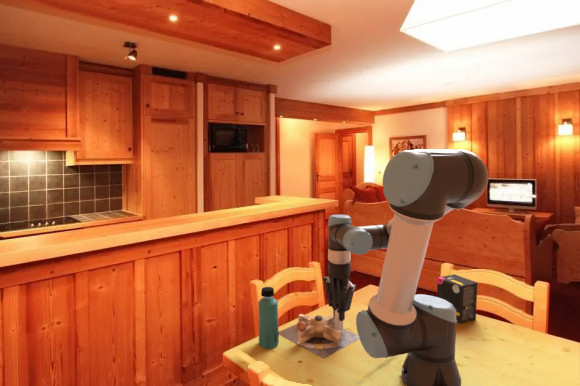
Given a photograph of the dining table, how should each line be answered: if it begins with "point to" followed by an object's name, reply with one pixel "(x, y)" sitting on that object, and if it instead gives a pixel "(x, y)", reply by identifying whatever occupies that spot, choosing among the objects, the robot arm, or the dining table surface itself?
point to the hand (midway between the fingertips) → (338, 328)
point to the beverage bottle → (268, 319)
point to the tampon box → (459, 295)
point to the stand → (320, 341)
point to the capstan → (317, 328)
